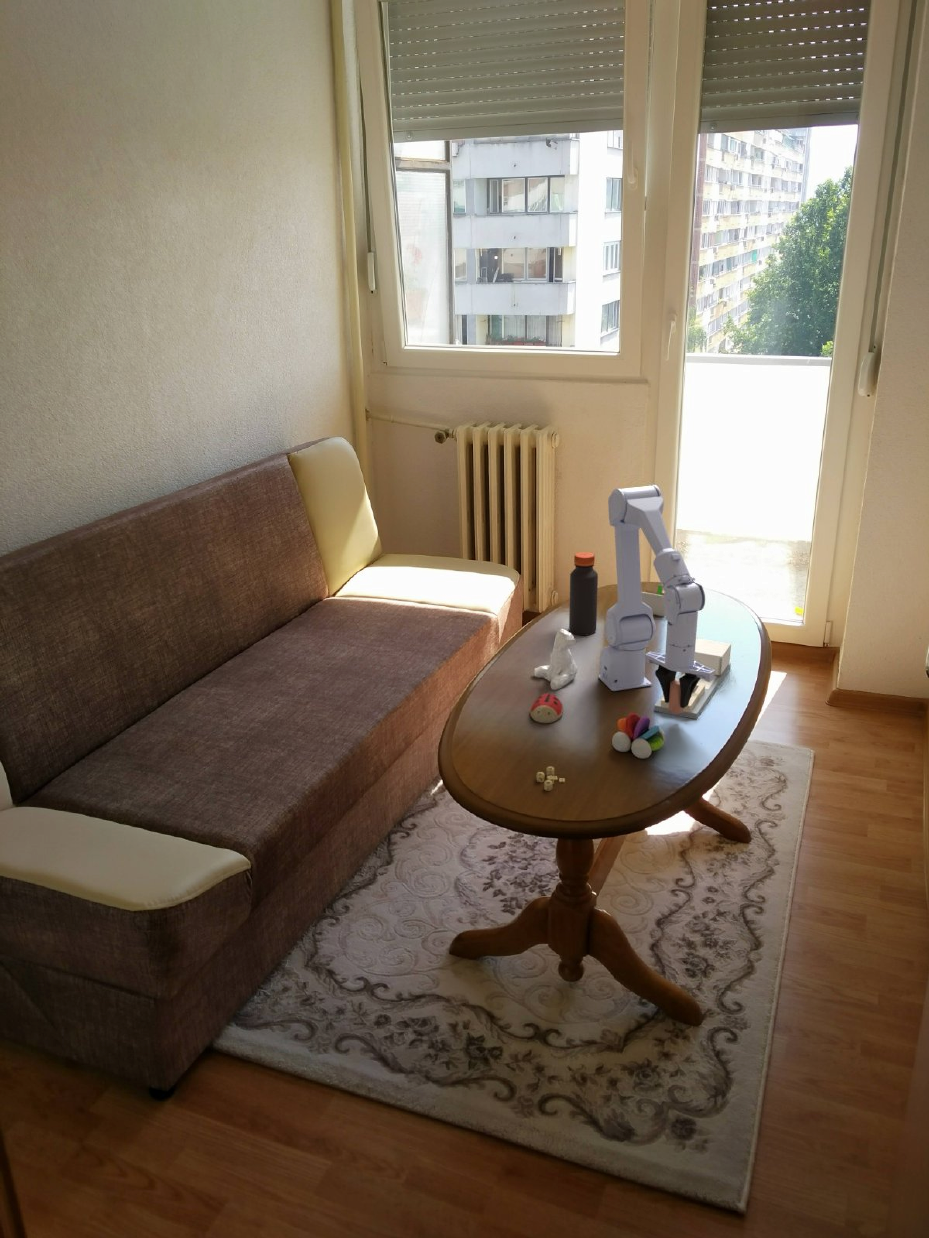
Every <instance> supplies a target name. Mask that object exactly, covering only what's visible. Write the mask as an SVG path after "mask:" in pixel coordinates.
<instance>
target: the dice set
mask: <svg viewBox="0 0 929 1238" xmlns="http://www.w3.org/2000/svg"><path fill="white" fill-rule="evenodd" d="M545 769H546V770H545V771H546V775H545V773H544V772H542V771H537V772H536V776H535V777H536V782H538V783H543V782H544V783H543V789H544V790H545V791H548V792H550V791H552V790H553V785H555V781H558V780H559V781H558V783H561V784H566V783H565V782H566V779H565V778H563V777H561V778H560V777H559V778H558V776H557V775H555V767H554V766H547V767H546V768H545ZM545 776H546V779H545Z"/></svg>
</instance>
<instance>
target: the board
mask: <svg viewBox="0 0 929 1238" xmlns="http://www.w3.org/2000/svg"><path fill="white" fill-rule="evenodd" d="M731 664H732V663H729V664H728V665H727V667H726V668H725V670H724V671H723V673H722V674H721V676H719V675H714V679H713V680H712V681H710V682H707V681H705V679H702V678H701V679H700V680H699V682H698V683H697V685H696V687H695V688H694V690H693V693H692V695H691V698H690V701H689V704H688V706H686V707H685V708H684V711H683V712H682V713H679V714H675V713H671V712H670V711H669V703H666V702H665V700H664V695H663V694H661V696H660V697H659V699H658V700H657V701H656V702H655V704H654V705H653V711H655V712H659V713H664V714H671V715H674V716H681V717H684V718H691V719H693V720H694V719H695V720H697V719H698V717H699V716H700V715H701V713H702V712H703V710H704V708H705V707H706V706H707V704H708V702H709V701H710V699H711V698H712V696H713V695H714V693H715V692H716V690H717V689H718V688H719V686H720V685H721V683H722V681H724V679H725V677H726V675H727V674H728V672H729V671H730V669H731V667H732V665H731ZM684 675H685V673H682V672H678V673H677V674H676V677H675V680H679V678H681V677H682V676H684Z"/></svg>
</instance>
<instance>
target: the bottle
mask: <svg viewBox="0 0 929 1238" xmlns="http://www.w3.org/2000/svg"><path fill="white" fill-rule="evenodd" d="M595 555H596V554H595V553H593V552H590V551H589V552H588V551H579V552H576V553H574V556H573V557H574V558H573V559H574V562H573V563H574V566H575V568H574V569H573V570H572V571H571V572H570V574H569V610H568V611H569V617H568V618H569V619H568V621H569V622H568V631H570V633H571V634H572V635H573V634H574V635H577V636H590V635H593V634H595V633H596V631H597V622H598V621H597V620H598V619H597V616H598V615H597V614H598V612H597V611H598V585H599V584H598V582H599V576H598V572H597V571H596V570H595V569H594V566H595Z"/></svg>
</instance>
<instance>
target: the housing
mask: <svg viewBox="0 0 929 1238" xmlns="http://www.w3.org/2000/svg"><path fill="white" fill-rule="evenodd" d="M731 647H732V643H728V642H723V641H722V642H721V641H716V640H710V639H704V638H697V637H696V645H695V658H694V661H696V662H698V663H700V664H702V665H704V666H706V667H708V668H710V669H713V670H715V674H714V675H719V676H721V674H722V673H723V671H724V670H725V668H726V667H727V665H728V664H729V663H730V659H731Z"/></svg>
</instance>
